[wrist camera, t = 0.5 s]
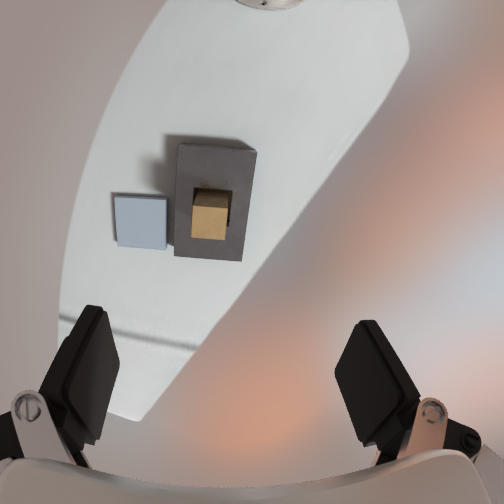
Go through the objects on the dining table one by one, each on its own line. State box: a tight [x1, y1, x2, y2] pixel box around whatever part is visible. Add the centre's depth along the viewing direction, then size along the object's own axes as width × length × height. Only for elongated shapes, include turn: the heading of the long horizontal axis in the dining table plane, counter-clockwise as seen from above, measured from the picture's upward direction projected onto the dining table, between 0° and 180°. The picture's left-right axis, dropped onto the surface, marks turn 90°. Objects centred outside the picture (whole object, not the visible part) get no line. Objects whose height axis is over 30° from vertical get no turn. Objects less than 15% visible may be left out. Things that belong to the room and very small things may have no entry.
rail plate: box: [174, 143, 257, 262], centre depth 38 cm, size 16×10×2 cm, turn 172°
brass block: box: [191, 188, 228, 240], centre depth 35 cm, size 4×4×8 cm
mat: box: [114, 195, 168, 250], centre depth 39 cm, size 8×8×1 cm
